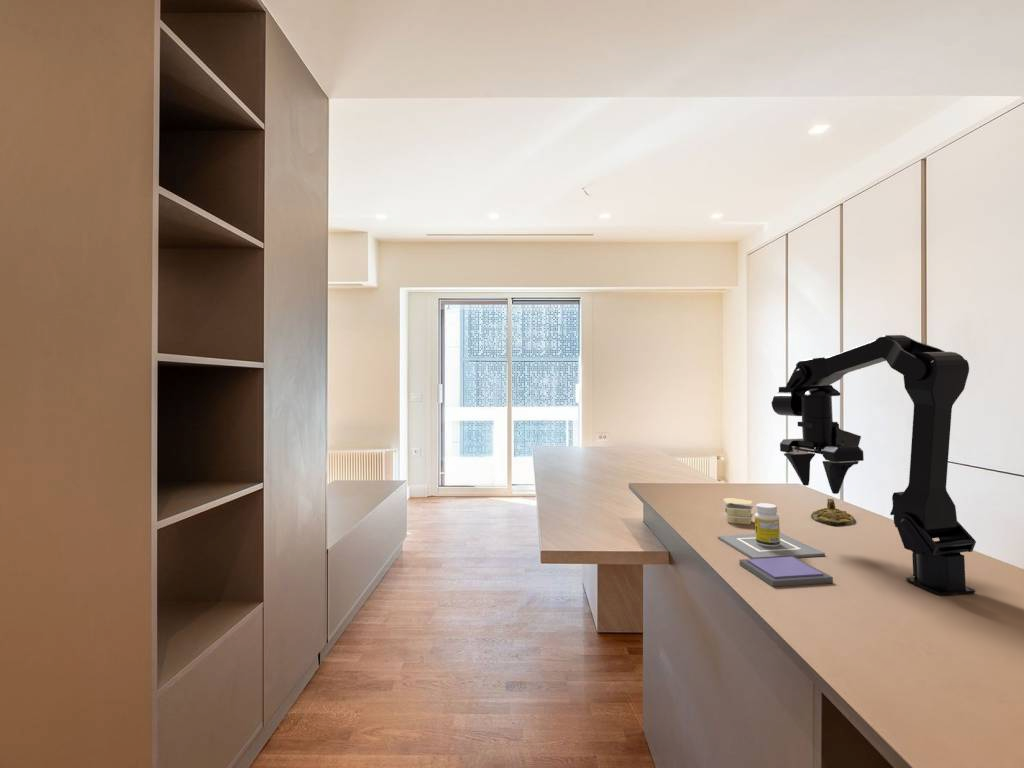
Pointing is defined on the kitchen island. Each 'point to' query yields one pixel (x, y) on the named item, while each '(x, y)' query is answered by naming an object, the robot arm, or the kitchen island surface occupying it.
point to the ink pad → (785, 571)
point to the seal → (832, 515)
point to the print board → (755, 551)
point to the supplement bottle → (767, 525)
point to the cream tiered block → (738, 511)
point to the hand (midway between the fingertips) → (820, 489)
